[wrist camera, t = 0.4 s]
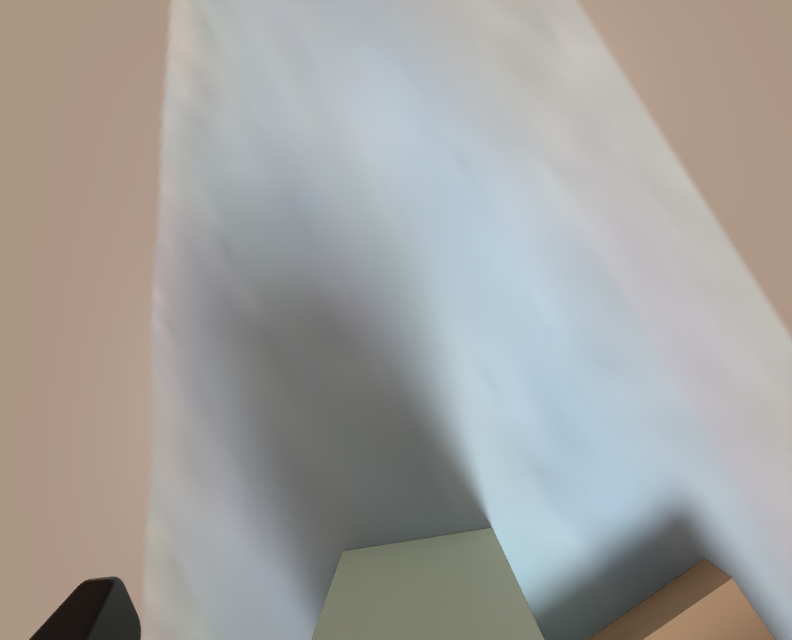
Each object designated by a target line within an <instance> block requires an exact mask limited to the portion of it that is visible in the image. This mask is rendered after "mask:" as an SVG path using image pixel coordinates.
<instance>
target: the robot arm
mask: <svg viewBox="0 0 792 640" xmlns="http://www.w3.org/2000/svg"><path fill="white" fill-rule="evenodd" d="M140 638H141V626H140V620H139V617H138V614H137V612H136V610H135V608H134V606H133V603H132V601H131V599H130V596H129V594H128V592H127V590H126V588H125V585H124V583H123V582H122V581H121V579H119V578H118V577H104V578H95V579H88V580H86V581H84V582H83V583H81V584H80V585H79V586H78V587H77V588H76V589H75V590H74V591H73V592H72V593H71V594H70V596H69V597H68V598H67V599H66V600H65V601H64V602H63V603H62V604H61V605H60V606H59V608H58V609H57V610H56V611H55V612H54V613H53V614H52V615H51V616H50V618H49V619H48V620H47V621H46V622H45V623H44V624H43V625H42V626H41V627H40V629H38V630H37V632H36V633H35V634H34V635H33V636H32V637H31V638H30V639H29V640H140Z"/></svg>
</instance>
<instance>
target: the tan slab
mask: <svg viewBox="0 0 792 640" xmlns="http://www.w3.org/2000/svg"><path fill="white" fill-rule="evenodd" d="M587 640H775V639H774V637H773V636H772V634H771V633H770V631H769V630H768V628H767V627H766V626H765V624H764V623H763V621H762V620H761V618H760V617H759V616H758V614H757V613H756V611H755V610H754V608H753V607H752V606H751V604H750V603H749V601H748V600H747V598H746V597H745V595H744V594H743V593H742V591H741V590H740V588H739V587H738V585H737V584H736V583H735V581H734V580H733V578H732V577H730V576H729V575H727V574H726V573H724V572H723V571H722V570H720V569H719V568H717V567H716V566H714V565H713V564H712V563H710V562H709V561H707V560H706V559H704V560H702V561H701V562H699V563H698V564H696V565H695V566H693V567H692V568H690V569H689V570H688V571H686V572H685V573H683V574H682V575H680V576H679V577H677V578H676V579H675V580H673V581H672V582H670V583H669V584H667V585H666V586H664V587H663V588H661V589H660V590H659V591H657V592H656V593H654V594H653V595H651V596H650V597H648V598H647V599H645V600H644V601H643V602H641V603H640V604H638V605H637V606H635V607H634V608H632V609H631V610H630V611H628V612H627V613H625V614H624V615H622V616H621V617H619V618H618V619H616V620H615V621H614V622H612V623H611V624H609V625H608V626H606V627H605V628H603V629H602V630H600V631H599V632H598V633H596V634H595V635H593V636H592V637H590V638H589V639H587Z"/></svg>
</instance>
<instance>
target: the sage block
mask: <svg viewBox="0 0 792 640" xmlns="http://www.w3.org/2000/svg"><path fill="white" fill-rule="evenodd" d="M311 640H544V638H543V636H542V633H541V631H540V629H539V627H538V625H537V623H536V621H535V618H534V616H533V614H532V612H531V610H530V608H529V605H528V603H527V601H526V599H525V597H524V595H523V593H522V590H521V588H520V586H519V584H518V582H517V580H516V577H515V575H514V573H513V571H512V569H511V567H510V565H509V562H508V560H507V558H506V556H505V554H504V552H503V550H502V547H501V545H500V543H499V541H498V539H497V537H496V534H495V532H494V530H493V528H486V529H479V530H473V531H467V532H461V533H454V534H448V535H442V536H435V537H429V538H423V539H417V540H410V541H404V542H398V543H391V544H385V545H379V546H373V547H366V548H360V549H354V550H347V551H343V552H342V555H341V557H340V560H339V563H338V566H337V569H336V572H335V574H334V577H333V580H332V583H331V586H330V589H329V591H328V594H327V597H326V600H325V603H324V606H323V608H322V611H321V614H320V617H319V620H318V622H317V625H316V628H315V631H314V634H313V637H312V639H311Z"/></svg>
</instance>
